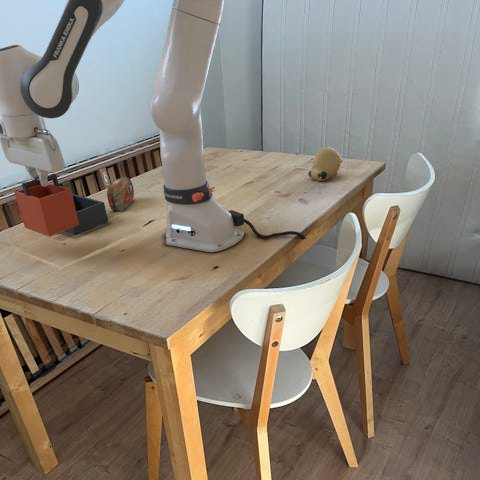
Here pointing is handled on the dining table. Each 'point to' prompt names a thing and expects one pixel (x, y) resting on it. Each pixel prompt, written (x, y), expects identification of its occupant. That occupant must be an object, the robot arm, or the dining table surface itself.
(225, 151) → the dining table surface
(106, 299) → the dining table surface
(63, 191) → the terracotta bin
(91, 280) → the dining table surface
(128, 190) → the tin
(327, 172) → the beige plush toy
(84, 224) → the slate bin
